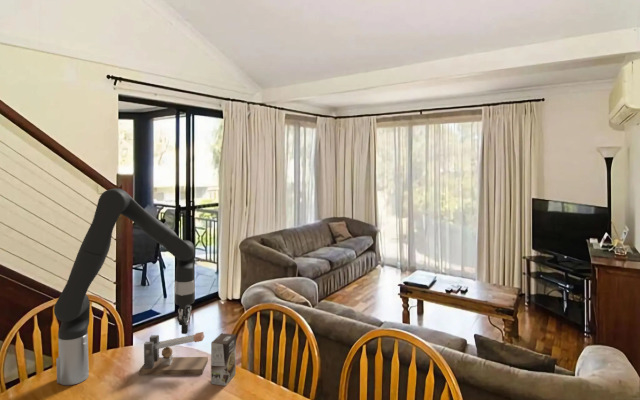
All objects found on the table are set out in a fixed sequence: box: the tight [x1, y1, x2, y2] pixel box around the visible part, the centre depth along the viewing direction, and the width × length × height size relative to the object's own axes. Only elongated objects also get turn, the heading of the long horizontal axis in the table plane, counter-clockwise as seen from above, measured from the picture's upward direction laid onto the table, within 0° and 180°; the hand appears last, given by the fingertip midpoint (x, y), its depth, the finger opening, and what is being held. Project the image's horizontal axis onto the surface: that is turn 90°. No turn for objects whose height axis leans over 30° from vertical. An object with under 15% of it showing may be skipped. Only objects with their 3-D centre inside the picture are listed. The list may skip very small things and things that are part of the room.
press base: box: [138, 334, 209, 376], centre depth 152 cm, size 24×10×12 cm, turn 94°
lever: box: [154, 331, 205, 350], centre depth 152 cm, size 22×4×2 cm, turn 93°
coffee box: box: [210, 332, 237, 387], centre depth 145 cm, size 9×6×16 cm
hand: (184, 333), depth 152 cm, fingers closed
